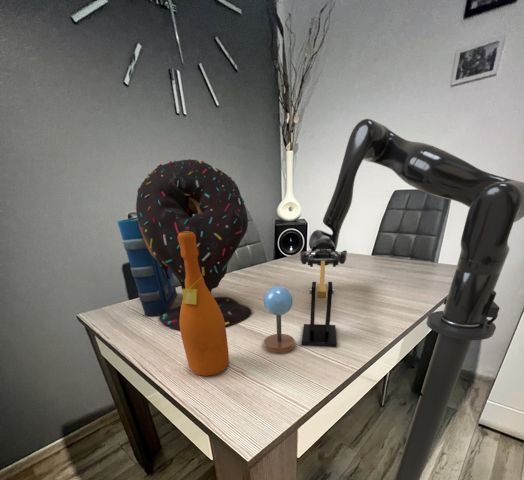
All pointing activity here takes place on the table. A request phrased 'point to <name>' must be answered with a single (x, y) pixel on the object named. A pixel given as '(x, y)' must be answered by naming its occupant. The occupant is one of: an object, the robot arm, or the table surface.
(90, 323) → the table surface
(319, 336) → the stand
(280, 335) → the blue lamp
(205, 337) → the wine bottle
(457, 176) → the robot arm
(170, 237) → the dark brown sprinkled donut
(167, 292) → the book
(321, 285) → the yellow switch lever
